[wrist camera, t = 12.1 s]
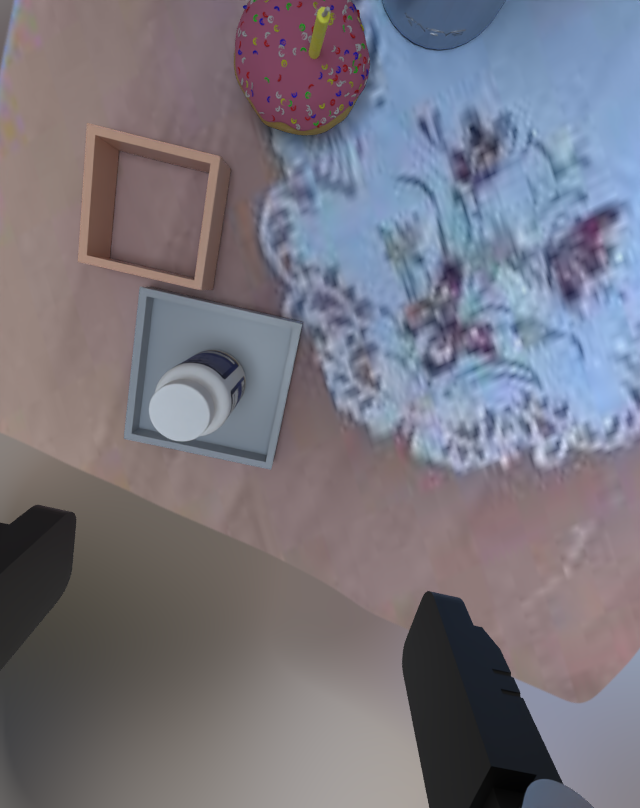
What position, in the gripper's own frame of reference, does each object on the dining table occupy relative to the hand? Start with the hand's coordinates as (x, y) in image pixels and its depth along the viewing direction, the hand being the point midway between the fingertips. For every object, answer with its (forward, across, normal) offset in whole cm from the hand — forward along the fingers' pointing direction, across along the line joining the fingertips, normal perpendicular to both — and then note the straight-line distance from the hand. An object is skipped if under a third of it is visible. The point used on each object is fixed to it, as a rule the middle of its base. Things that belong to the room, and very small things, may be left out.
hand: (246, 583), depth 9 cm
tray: (+28, +7, +4) cm, 29 cm away
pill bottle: (+28, +7, +4) cm, 29 cm away
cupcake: (+29, +5, -19) cm, 35 cm away
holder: (+28, +13, -8) cm, 32 cm away
